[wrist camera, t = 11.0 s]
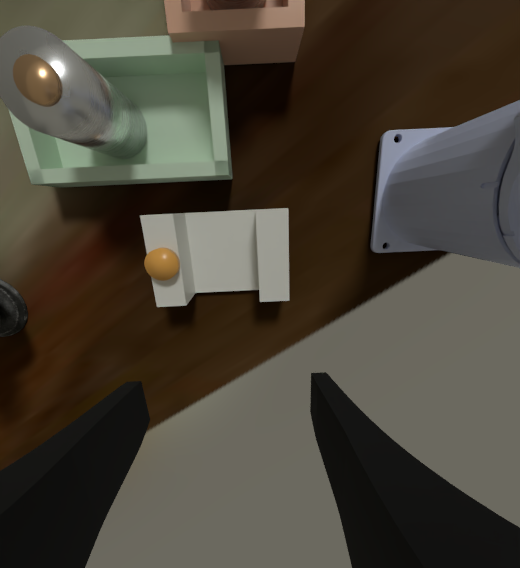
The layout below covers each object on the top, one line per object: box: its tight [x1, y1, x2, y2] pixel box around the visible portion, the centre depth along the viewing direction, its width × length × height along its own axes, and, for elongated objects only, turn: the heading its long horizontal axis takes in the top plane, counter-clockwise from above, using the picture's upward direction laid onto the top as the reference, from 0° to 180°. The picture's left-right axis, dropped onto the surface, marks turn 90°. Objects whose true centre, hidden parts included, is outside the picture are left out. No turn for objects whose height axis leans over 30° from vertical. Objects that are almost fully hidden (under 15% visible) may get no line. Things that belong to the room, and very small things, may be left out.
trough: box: [9, 36, 232, 187], centre depth 15 cm, size 12×7×2 cm, turn 93°
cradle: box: [140, 208, 289, 307], centre depth 17 cm, size 9×6×4 cm, turn 93°
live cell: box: [0, 26, 147, 159], centre depth 12 cm, size 4×4×6 cm
